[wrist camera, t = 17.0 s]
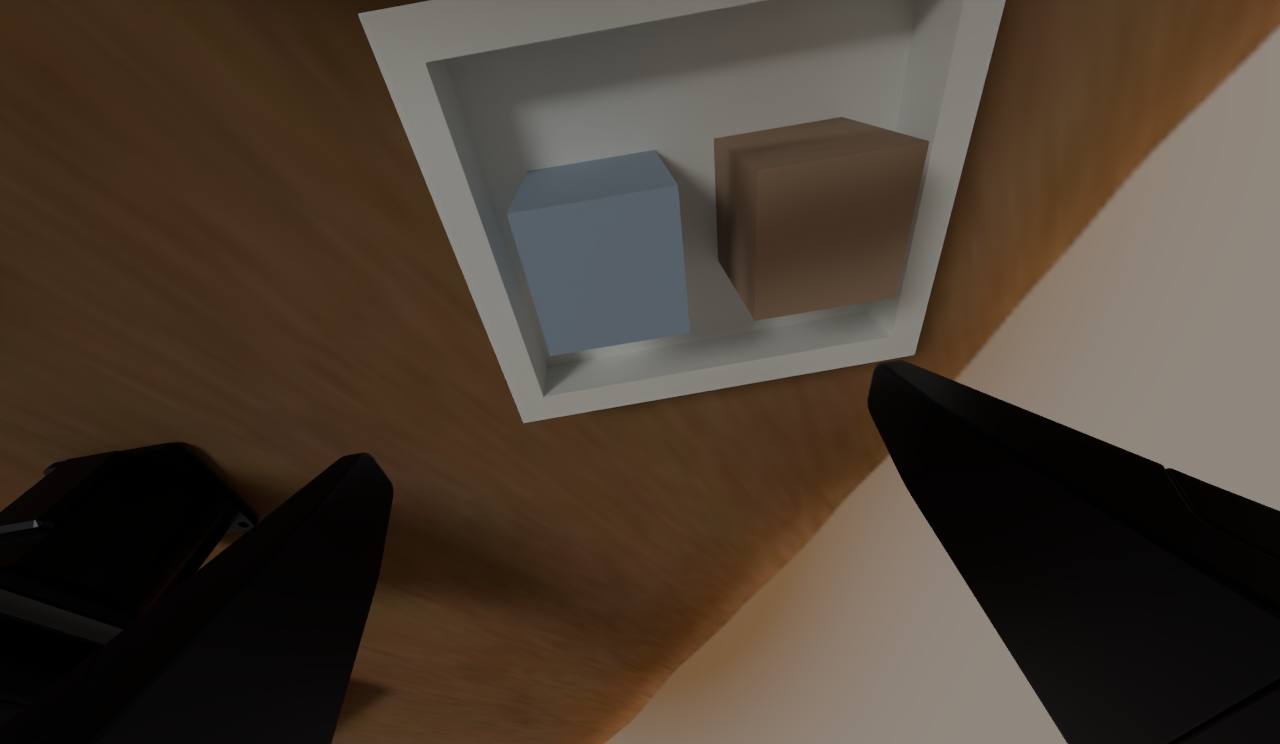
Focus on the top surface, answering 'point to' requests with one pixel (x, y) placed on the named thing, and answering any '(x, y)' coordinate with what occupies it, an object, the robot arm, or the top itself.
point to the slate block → (602, 251)
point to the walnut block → (815, 213)
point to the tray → (675, 156)
